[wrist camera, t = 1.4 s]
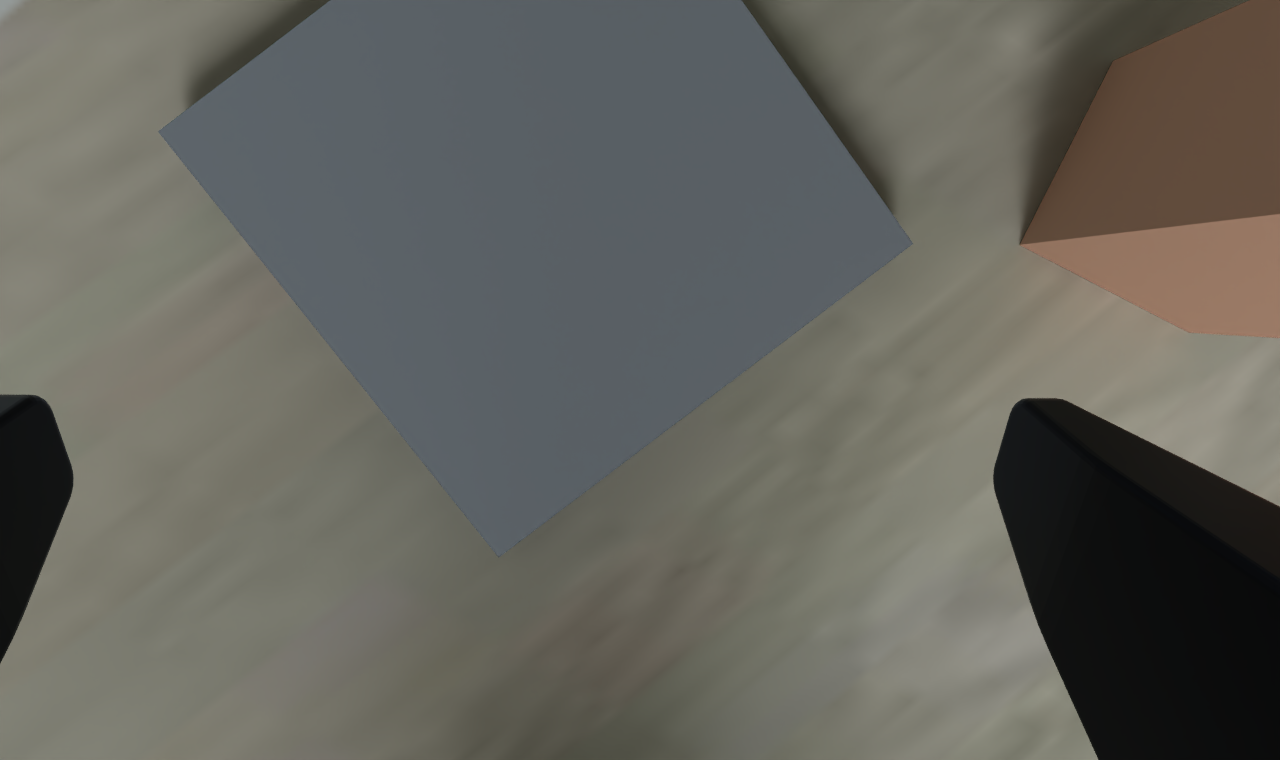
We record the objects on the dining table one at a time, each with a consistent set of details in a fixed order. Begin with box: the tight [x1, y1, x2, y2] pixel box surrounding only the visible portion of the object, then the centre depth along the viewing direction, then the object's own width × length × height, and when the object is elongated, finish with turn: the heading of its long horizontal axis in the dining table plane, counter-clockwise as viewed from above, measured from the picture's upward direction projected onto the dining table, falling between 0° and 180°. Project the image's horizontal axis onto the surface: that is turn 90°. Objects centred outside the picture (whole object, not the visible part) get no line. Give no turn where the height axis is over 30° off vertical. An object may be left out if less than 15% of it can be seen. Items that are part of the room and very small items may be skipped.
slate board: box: [158, 0, 913, 557], centre depth 22 cm, size 12×12×2 cm
